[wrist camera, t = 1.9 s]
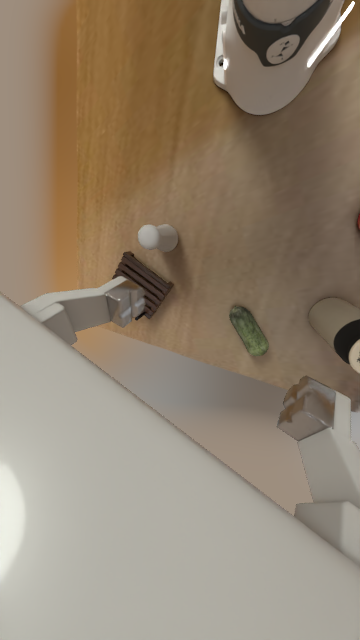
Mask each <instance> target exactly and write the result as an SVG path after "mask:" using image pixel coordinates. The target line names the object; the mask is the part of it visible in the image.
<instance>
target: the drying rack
mask: <svg viewBox="0 0 360 640" xmlns="http://www.w3.org/2000/svg"><path fill="white" fill-rule="evenodd" d="M123 255H124V256H123V257H122V259H121V260H122V262H120V263H119V265H118V267H119V268H118V269H116V271H115V273H116V274H115V275H114V276H113V278H112V279H115V278H117V277H119V276H123V277H124V278H126V279H128V280H130V281H132V282H133V283H135V284H137V285H139V284H138V283H137V282H135V281H134V280H133V279H131V278H130V277H129V276H127V275H126V274H125V272H126V273H128V274H129V275H130V276H132V277H133V278H134V279H136V280H137V281H138V282H140V283H141V284H142V285H144V286H145V287H146V288H148V289H149V290H150V291H152V292H153V293H154V294H156V295H157V296H158V298H157V297H155V296H154V295H153V294H151V293H150V292H149V291H147V290H146V289H145V288H144V289H145V295H146V296H147V297H148V298H150V299H151V300H152V301H154V302H155V303H152V302H151V301H150V300H148V299H147V298H146V297H144V296H143V298H144V300H145V303H146V304H147V305H148V306H150V307H151V309H150V308H148V307H147V306H146V305H145V308H144V310H143V311H142V313H141V314H140V315H138V316H137V317H136V318H135V320H138V319H140V318H141V317H142V316H144V315H145V316H146V317H147V318H149V319H150V318H151V317H152V316H153V315H154V314H155V312H156V311H157V309H158V308H159V306H160V305H161V303H162V302H163V300H164V299H165V297H166V296H167V294H168V293H169V291H170V289H171V288H172V286H173V285H174V284H173V283H172V282H169V283H167V282H166V281H164V280H163V279H162V278H160V277H159V276H158V275H156V274H155V273H154V272H152V271H151V270H150V269H148V268H147V267H146V266H144V265H143V264H142V263H140V262H139V261H138V260H136V259H135V258H134V257H133V255H134V254H133V253H132V252H124V253H123ZM128 265H129V266H130V267H131V268H133V269H134V270H135V271H137V272H138V273H139V274H141V275H142V276H143V277H145V278H146V279H147V280H149V281H150V282H151V283H153V284H154V285H155V286H157V287H158V288H159V289H161V290H162V293H161V292H160V291H159V290H157V289H156V288H155V287H153V286H152V285H151V284H149V283H148V282H147V281H145V280H144V279H143V278H141V277H140V276H139V275H137V274H136V273H135V272H133V271H132V270H131V269H129V268H128ZM139 286H140V287H142V286H141V285H139ZM142 288H143V287H142Z"/></svg>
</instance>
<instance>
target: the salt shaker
mask: <svg viewBox="0 0 360 640" xmlns="http://www.w3.org/2000/svg"><path fill="white" fill-rule="evenodd" d="M138 240H139V243H140V245H141V246H142V247H144V248H146V249H149V250H152V249H156V248H157V249H159V250H161V251H164V252H168V251H171V250H173V249H174V248H175V247H176V245H177V243H178V234H177V231H176V230H175V229H174V228H173V227H172V226H170V225H167V224H164V225H160V226H157V227H156V226H153V225H150V224H149V225H145V226H143V227H142V228H141V229H140V230H139V233H138Z"/></svg>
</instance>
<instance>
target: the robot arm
mask: <svg viewBox="0 0 360 640" xmlns="http://www.w3.org/2000/svg"><path fill="white" fill-rule="evenodd" d="M343 3H344V0H221V8H220V17H219V27H218V36H217V45H216V54H215V63H214V82H215V84H216V85H217V86H219V87H220V88H222V89H224V90H226V91H227V92H228V93H229V94H230V95H231V97H232V99H233V100H234V102H235V103H236V104H237V105H238V106H239V107H240V108H241V109H242V110H244V111H245V112H247V113H250V114H254V115H265V114H270V113H273V112H275V111H277V110H279V109H281V108H283V107H284V106H286V105H287V104H289V103H290V102H291V101H292V100H293V99H294V98H295V97H296V96H297V95H298V94H299V93H300V92H301V91H302V89H303V88H304V87H305V85H306V84H307V82H308V80H309V79H310V77H311V75H312V73H313V72H314V70H315V68H316V66H317V65H318V63H319V62H320V61H321V60H322V59H323V58H324V57H325V56H326V55H327V54H328V53H329V52H330V51H331V50H332V48H333V47H334V46H335V44H336V43H337V41H338V38H339V36H340V33H341V23H342V21H343V20H344V19H345V17H346V16H347V15H348V13H349V12H350V10H351V9H352V7H353V5H354V2H352V3H351V5H350V6H349V8H348V9H347V10H346V12H345V13H344V15H343V16H342V17H341V14H340V11H341V8H342V5H343ZM221 63H224V64H223V66H221V67H220V66H219V65H220V64H221ZM144 295H145V289H144V288H142V287H140V286H139V285H137V284H135V283H133V282H132V281H130V280H128V279H126V278H124V277H123V276H119V277H117V278H115V279H113V280H111V281H110V282H108V283H106V284H104V285H103V286H101V287H99V288H97V289H96V288H88V289H80V290H71V291H64V292H55V293H46V294H44V295H42V296H40V297H38V298H36V299H34V300H32V301H30V302H28V303H26V304H24V305H21V306H18V305H17V304H16V303H15V302H13V301H12V300H11V299H9V298H8V297H7V296H5V295H4V294H3V293H1V292H0V640H360V450H359V448H358V447H357V445H356V443H354V442H353V441H351V400H350V398H348V397H347V396H345V395H343V394H341V393H339V392H337V391H335V390H333V389H331V388H329V387H328V386H326V385H324V384H322V383H320V382H318V381H316V380H314V379H312V378H310V377H309V376H307V375H306V376H304V377H302V378H301V379H300V381H299V384H296V385H293V386H292V387H291V388H290V389H289V390H288V392H287V393H286V396H285V398H284V402H283V405H284V408H285V410H283V411H282V412H281V413H280V417H279V420H278V424H277V427H278V428H279V429H281V430H282V431H283V432H285V433H287V434H288V435H290V436H291V437H292V438H294V439H295V440H297V441H298V442H297V443H298V447H299V450H300V454H301V458H302V462H303V465H304V469H305V473H306V476H307V480H308V484H309V487H310V491H311V495H312V499H313V502H314V503H300V504H296V508H295V515H294V516H293V515H292V514H290V513H289V512H288V511H286V510H285V509H284V508H282V507H281V506H280V505H278V504H277V503H276V502H275V501H273V500H272V499H271V498H269V497H268V496H267V495H265V494H264V493H263V492H261V491H260V490H259V489H258V488H256V487H255V486H254V485H252V484H251V483H250V482H248V481H247V480H246V479H244V478H243V477H242V476H241V475H239V474H238V473H237V472H235V471H234V470H233V469H231V468H230V467H229V466H227V465H226V464H225V463H224V462H222V461H221V460H220V459H218V458H217V457H216V456H214V455H213V454H212V453H210V452H209V451H208V450H207V449H205V448H204V447H202V446H201V445H200V444H199V443H197V442H196V441H195V440H194V439H192V438H191V437H190V436H188V435H187V434H186V433H184V432H183V431H182V430H181V429H179V428H178V427H177V426H175V425H174V424H172V423H171V422H170V421H169V420H167V419H166V418H165V417H164V416H162V415H161V414H160V413H158V412H157V411H156V410H154V409H153V408H152V407H150V406H149V405H148V404H147V403H145V402H144V401H143V400H141V399H140V398H139V397H137V396H136V395H135V394H133V393H132V392H131V391H130V390H128V389H127V388H126V387H124V386H123V385H122V384H120V383H119V382H118V381H116V380H115V379H114V378H113V377H111V376H110V375H109V374H107V373H106V372H105V371H103V370H102V369H101V368H99V367H98V366H97V365H96V364H94V363H93V362H91V361H90V360H89V359H88V358H86V357H85V356H84V355H82V354H81V353H80V352H79V351H77V350H76V349H75V348H73V347H72V346H71V345H72V344H74V343H75V342H76V341H77V337H76V334H75V332H77V331H81V330H84V329H87V328H90V327H94V326H98V325H101V324H104V323H108V322H111V321H112V322H114V323H116V324H117V325H119V326H121V327H122V328H123V327H125V326H126V325H127V324H128V323H130V322H131V321H132V317H136V316H138V315H140V314H141V313H142V311H143V310H144V308H145V300H144V298H143V296H144Z"/></svg>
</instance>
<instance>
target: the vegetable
mask: <svg viewBox="0 0 360 640" xmlns="http://www.w3.org/2000/svg"><path fill="white" fill-rule="evenodd" d="M229 316H230V320H231V322H232V324H233V326H234V327H235V329H236V331H237V332H238V334H239V336H240V337H241V339H242V341H243V343H244V344H245V346H246V348H247V350H248V352H249V353H250V354H251V355H253V356H261V355H263V354H265V353H266V352H267V350H268V347H269V344H268V341H267V340H266V338H265V337H264V335H263V334H262V332H261V330H260V328H259V327H258V325H257V323H256V321H255V319H254V318H253V316H252V314H251V313H250V312H249V311H248V310H247V309H246V308H243V307H236V306H235V307H234V308H233V309H232V310H231V311H230V315H229Z"/></svg>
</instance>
